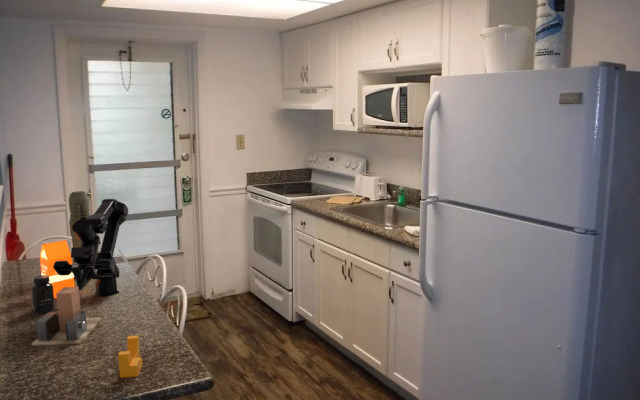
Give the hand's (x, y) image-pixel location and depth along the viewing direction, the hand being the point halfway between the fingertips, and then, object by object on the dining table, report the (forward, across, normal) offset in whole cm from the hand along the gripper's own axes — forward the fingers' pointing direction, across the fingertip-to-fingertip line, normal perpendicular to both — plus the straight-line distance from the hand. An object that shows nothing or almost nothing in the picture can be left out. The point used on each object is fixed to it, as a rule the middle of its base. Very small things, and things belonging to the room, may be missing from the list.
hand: (79, 290), depth 183 cm
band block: (+17, 0, -4) cm, 18 cm away
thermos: (-30, -18, +43) cm, 56 cm away
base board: (+14, 0, 0) cm, 14 cm away
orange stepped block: (+33, +27, -18) cm, 47 cm away
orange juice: (-12, -18, +26) cm, 34 cm away
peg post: (+13, 0, 0) cm, 13 cm away
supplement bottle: (0, -16, +14) cm, 21 cm away
